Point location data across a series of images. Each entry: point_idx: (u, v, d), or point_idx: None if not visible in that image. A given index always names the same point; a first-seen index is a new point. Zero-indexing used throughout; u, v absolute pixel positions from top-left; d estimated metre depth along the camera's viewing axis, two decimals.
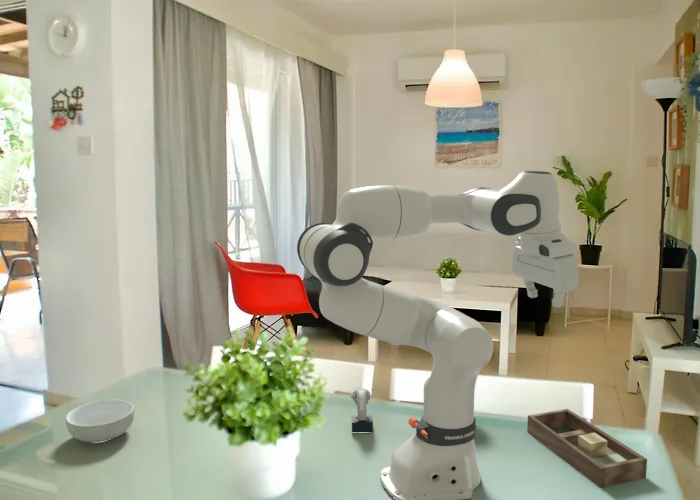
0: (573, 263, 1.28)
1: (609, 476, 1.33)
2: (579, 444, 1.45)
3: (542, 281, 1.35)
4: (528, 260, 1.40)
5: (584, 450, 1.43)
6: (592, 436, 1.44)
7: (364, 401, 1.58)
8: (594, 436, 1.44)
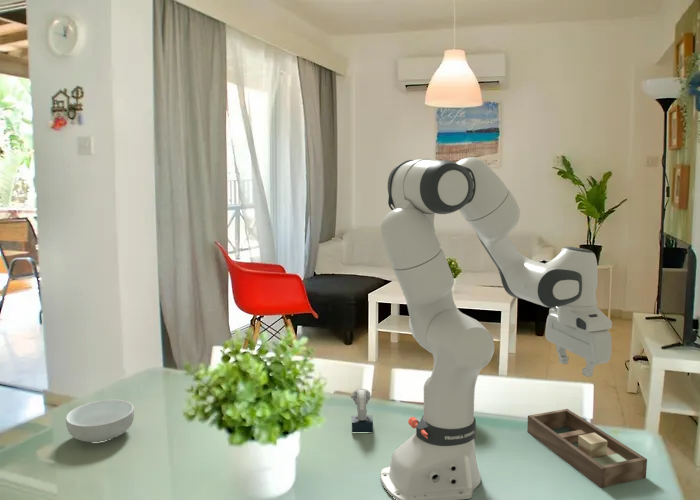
0: (607, 338, 1.38)
1: (609, 476, 1.33)
2: (579, 444, 1.45)
3: (575, 351, 1.44)
4: (562, 329, 1.49)
5: (584, 450, 1.43)
6: (592, 436, 1.44)
7: (364, 401, 1.58)
8: (594, 436, 1.44)
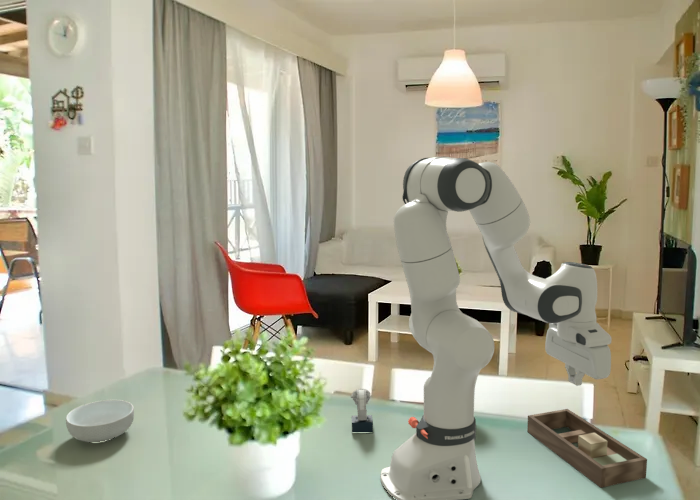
0: (607, 353, 1.39)
1: (609, 476, 1.33)
2: (579, 444, 1.45)
3: (575, 365, 1.45)
4: (562, 343, 1.50)
5: (584, 450, 1.43)
6: (592, 436, 1.44)
7: (364, 401, 1.58)
8: (594, 436, 1.44)
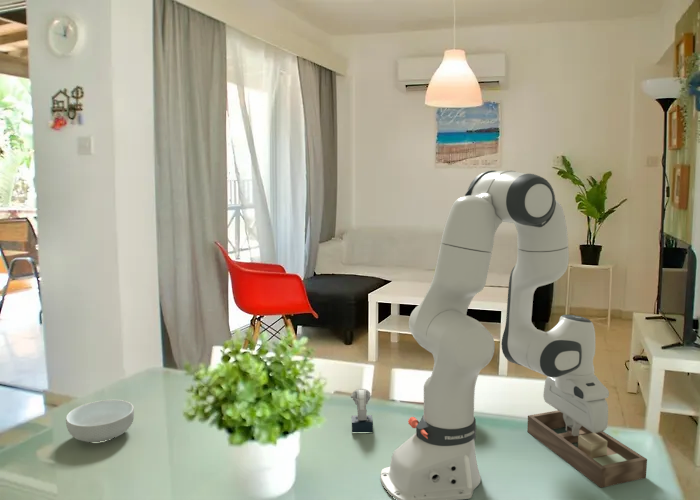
0: (604, 407, 1.41)
1: (609, 476, 1.33)
2: (579, 444, 1.45)
3: (573, 417, 1.47)
4: (560, 393, 1.52)
5: (584, 450, 1.43)
6: (592, 436, 1.44)
7: (364, 401, 1.58)
8: (594, 436, 1.44)
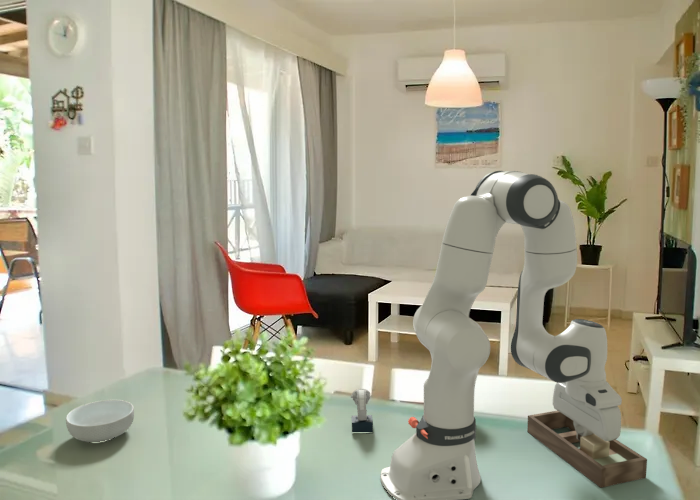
0: (617, 415, 1.37)
1: (609, 476, 1.33)
2: (581, 445, 1.44)
3: (584, 424, 1.43)
4: (571, 400, 1.48)
5: (586, 451, 1.43)
6: (594, 437, 1.44)
7: (364, 401, 1.58)
8: (596, 437, 1.44)
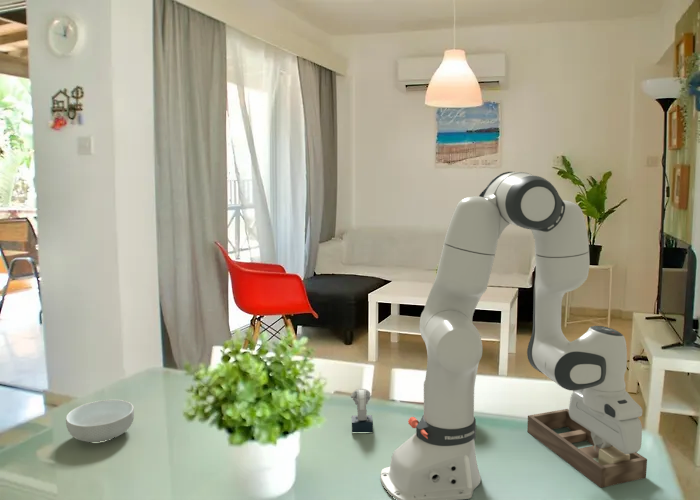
0: (638, 427, 1.31)
1: (609, 476, 1.33)
2: (600, 458, 1.38)
3: (602, 436, 1.37)
4: (588, 410, 1.42)
5: (605, 464, 1.37)
6: (613, 449, 1.38)
7: (364, 401, 1.58)
8: (616, 450, 1.38)
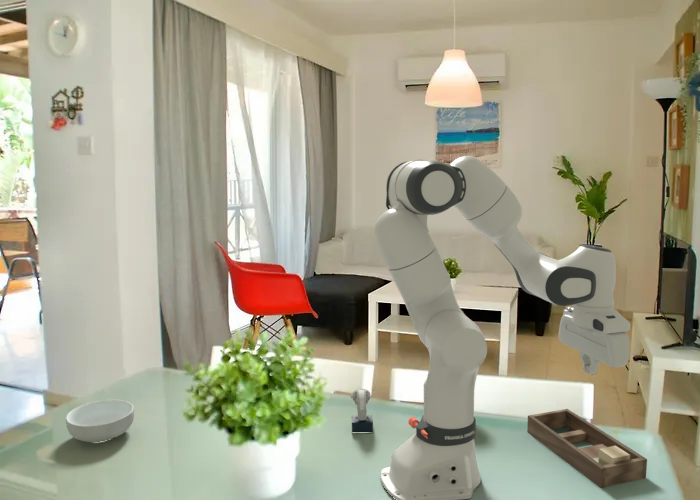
0: (625, 340, 1.32)
1: (609, 476, 1.33)
2: (600, 458, 1.38)
3: (591, 353, 1.39)
4: (577, 330, 1.43)
5: (605, 464, 1.37)
6: (613, 449, 1.38)
7: (364, 401, 1.58)
8: (616, 450, 1.38)
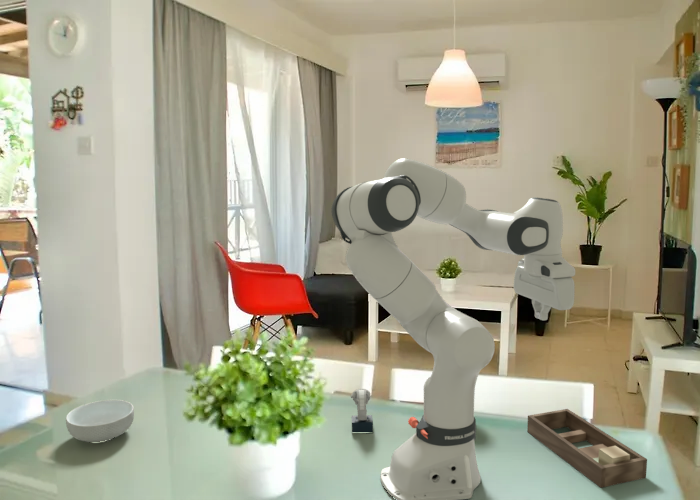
0: (571, 284, 1.41)
1: (609, 476, 1.33)
2: (600, 458, 1.38)
3: (541, 299, 1.48)
4: (529, 279, 1.52)
5: (605, 464, 1.37)
6: (613, 449, 1.38)
7: (364, 401, 1.58)
8: (616, 450, 1.38)
